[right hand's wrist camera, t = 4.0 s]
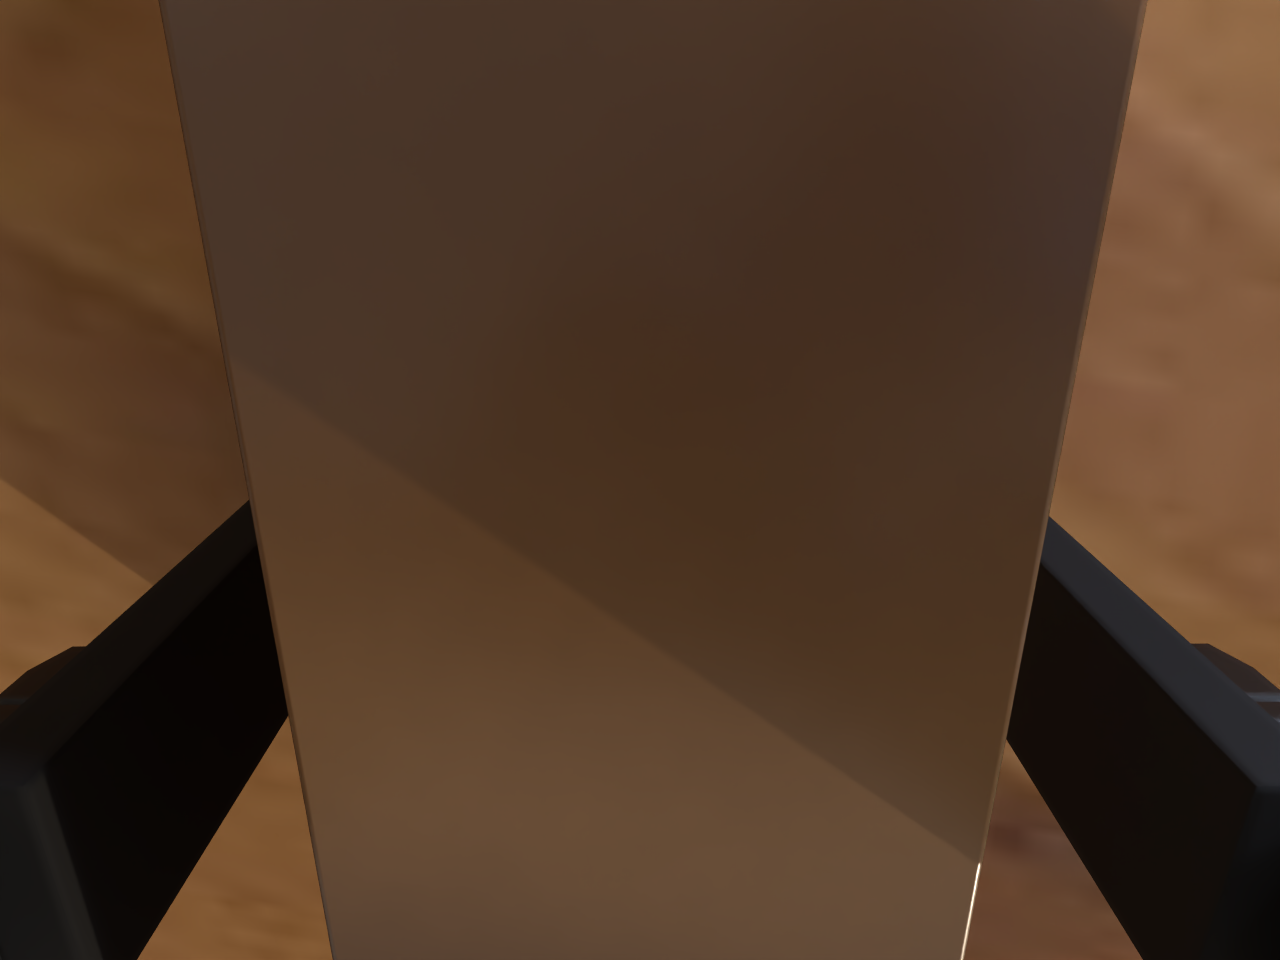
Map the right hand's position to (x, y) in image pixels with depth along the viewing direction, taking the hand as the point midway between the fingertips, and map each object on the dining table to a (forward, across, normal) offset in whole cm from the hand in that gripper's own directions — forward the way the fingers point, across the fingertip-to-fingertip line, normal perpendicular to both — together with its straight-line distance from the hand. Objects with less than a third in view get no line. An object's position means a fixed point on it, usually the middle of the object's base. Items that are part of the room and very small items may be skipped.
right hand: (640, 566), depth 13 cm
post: (+2, 0, -19) cm, 19 cm away
